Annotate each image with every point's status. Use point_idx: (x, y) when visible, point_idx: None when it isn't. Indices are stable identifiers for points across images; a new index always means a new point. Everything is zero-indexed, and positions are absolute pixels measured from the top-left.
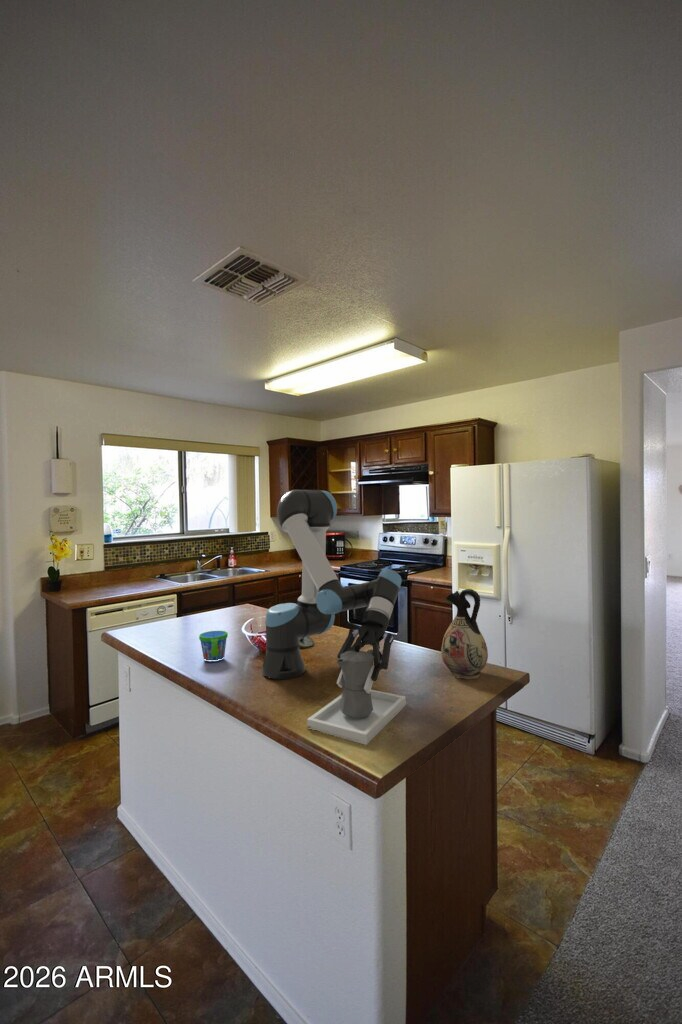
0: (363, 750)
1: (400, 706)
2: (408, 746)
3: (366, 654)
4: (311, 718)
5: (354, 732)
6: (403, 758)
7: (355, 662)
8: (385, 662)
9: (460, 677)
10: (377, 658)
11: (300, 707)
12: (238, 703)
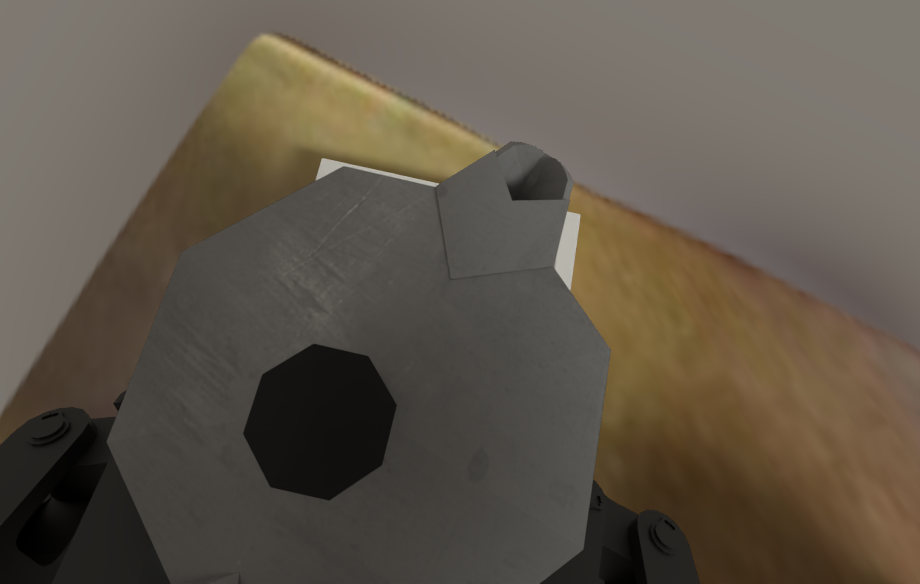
0: (334, 144)
1: None
2: (182, 204)
3: (206, 421)
4: (566, 224)
5: (371, 170)
6: (194, 130)
7: (336, 172)
8: (5, 457)
9: None
10: (94, 501)
11: (671, 384)
12: (903, 343)
